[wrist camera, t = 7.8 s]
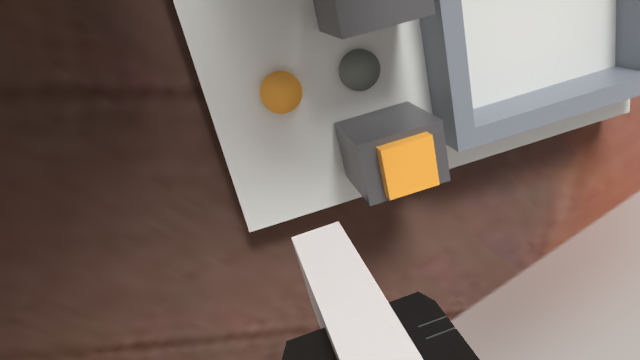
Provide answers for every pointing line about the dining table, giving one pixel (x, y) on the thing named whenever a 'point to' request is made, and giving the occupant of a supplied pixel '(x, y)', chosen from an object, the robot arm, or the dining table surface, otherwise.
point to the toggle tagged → (393, 152)
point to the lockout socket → (526, 109)
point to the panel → (368, 84)
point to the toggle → (367, 15)
